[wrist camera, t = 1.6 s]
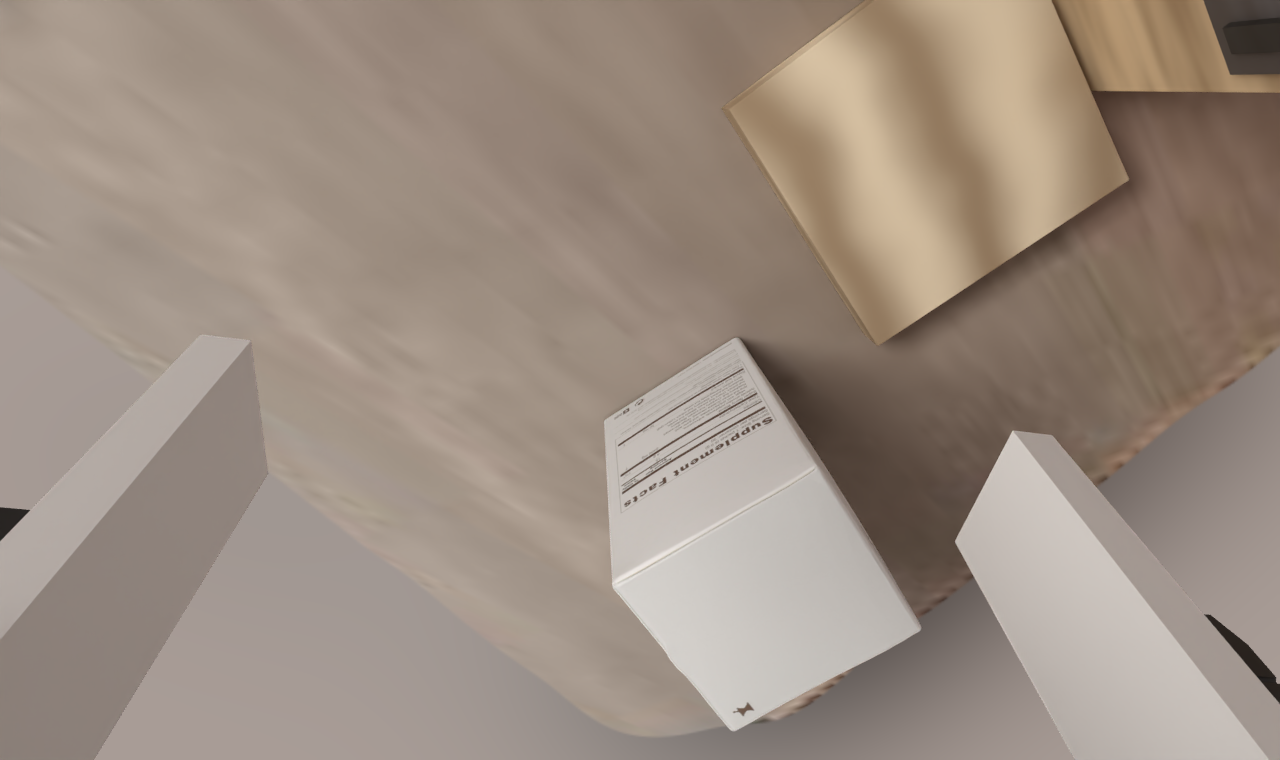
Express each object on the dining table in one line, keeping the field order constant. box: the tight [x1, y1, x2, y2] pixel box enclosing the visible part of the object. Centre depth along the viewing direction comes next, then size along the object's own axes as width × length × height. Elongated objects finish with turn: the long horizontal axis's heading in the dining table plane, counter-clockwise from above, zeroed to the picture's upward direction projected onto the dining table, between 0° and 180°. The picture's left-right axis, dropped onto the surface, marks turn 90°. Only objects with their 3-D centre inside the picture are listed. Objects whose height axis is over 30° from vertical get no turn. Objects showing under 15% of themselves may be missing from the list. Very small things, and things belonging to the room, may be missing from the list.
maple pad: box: [722, 0, 1129, 346], centre depth 35 cm, size 14×14×2 cm
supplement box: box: [604, 338, 921, 731], centre depth 35 cm, size 9×9×15 cm
